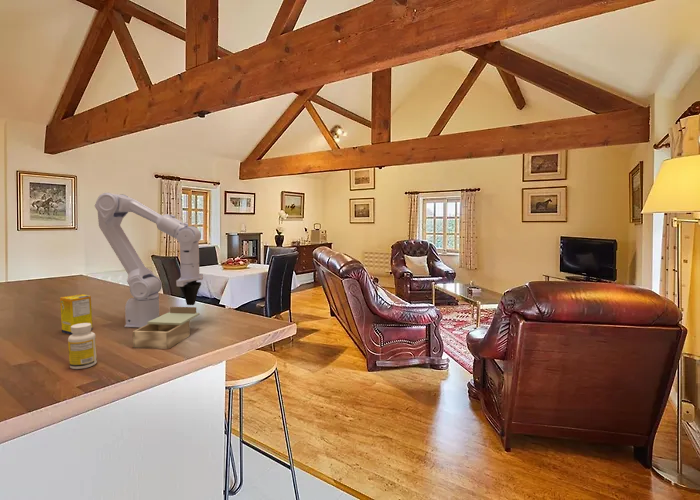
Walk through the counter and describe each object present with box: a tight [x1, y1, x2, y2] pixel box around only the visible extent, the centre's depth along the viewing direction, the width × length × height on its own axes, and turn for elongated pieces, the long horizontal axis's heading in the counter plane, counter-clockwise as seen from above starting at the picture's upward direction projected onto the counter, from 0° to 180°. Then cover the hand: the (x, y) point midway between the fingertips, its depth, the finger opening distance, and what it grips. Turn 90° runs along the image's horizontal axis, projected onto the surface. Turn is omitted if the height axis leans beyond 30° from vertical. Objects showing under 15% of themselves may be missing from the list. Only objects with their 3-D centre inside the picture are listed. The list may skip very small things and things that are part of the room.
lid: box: [147, 306, 200, 325], centre depth 117 cm, size 10×12×2 cm
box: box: [131, 320, 191, 350], centre depth 111 cm, size 10×12×4 cm
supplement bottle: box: [67, 323, 98, 370], centre depth 92 cm, size 5×5×10 cm
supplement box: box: [59, 293, 94, 335], centre depth 119 cm, size 6×6×11 cm
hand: (190, 304), depth 128 cm, fingers closed
